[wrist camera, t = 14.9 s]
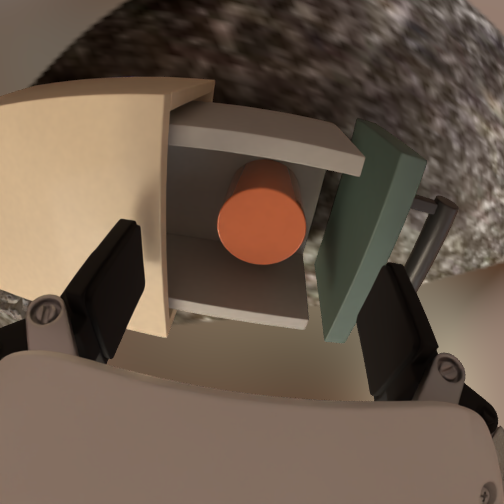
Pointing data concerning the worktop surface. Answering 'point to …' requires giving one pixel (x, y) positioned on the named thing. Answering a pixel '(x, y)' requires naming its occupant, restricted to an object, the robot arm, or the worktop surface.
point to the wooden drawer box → (87, 181)
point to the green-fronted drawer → (310, 179)
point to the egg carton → (13, 305)
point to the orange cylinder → (262, 213)
